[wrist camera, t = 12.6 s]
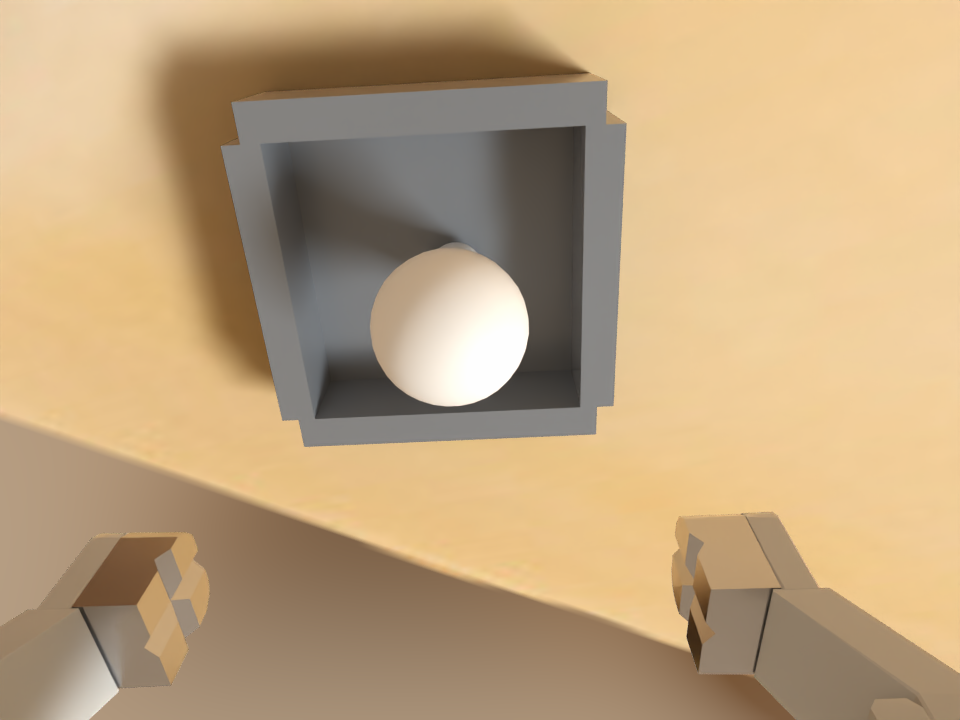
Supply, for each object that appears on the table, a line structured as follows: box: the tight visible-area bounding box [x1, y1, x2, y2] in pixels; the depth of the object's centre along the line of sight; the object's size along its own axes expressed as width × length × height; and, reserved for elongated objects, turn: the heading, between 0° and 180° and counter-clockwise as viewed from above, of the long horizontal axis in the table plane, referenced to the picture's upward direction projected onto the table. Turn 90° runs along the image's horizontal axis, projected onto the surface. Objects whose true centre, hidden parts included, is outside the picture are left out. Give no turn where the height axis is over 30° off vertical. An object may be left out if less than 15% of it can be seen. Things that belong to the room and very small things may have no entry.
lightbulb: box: [370, 242, 529, 406], centre depth 27 cm, size 6×6×11 cm
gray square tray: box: [221, 73, 626, 447], centre depth 31 cm, size 16×16×4 cm
